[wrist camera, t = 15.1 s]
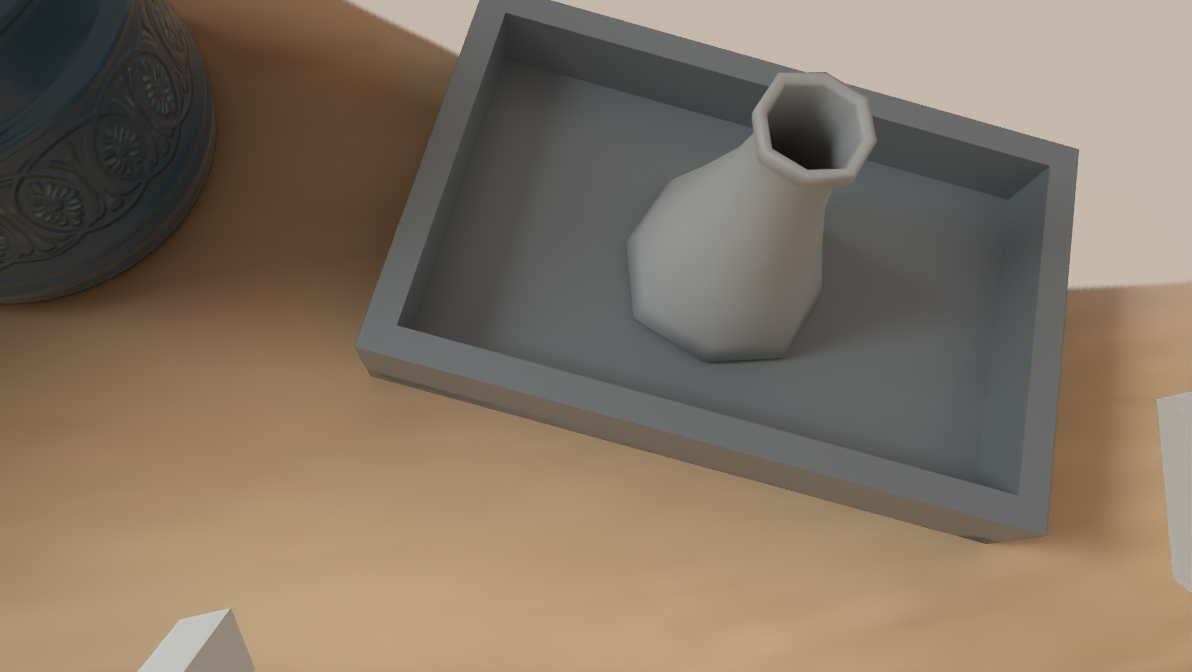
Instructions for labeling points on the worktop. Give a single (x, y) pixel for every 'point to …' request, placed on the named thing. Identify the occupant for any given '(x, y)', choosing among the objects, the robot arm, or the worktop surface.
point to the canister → (95, 139)
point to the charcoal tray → (742, 387)
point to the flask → (751, 226)
